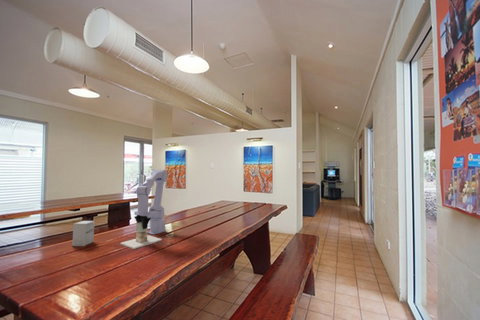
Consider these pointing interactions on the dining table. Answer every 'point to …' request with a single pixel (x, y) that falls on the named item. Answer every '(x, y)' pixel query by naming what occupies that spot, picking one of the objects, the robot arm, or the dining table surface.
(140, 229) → the sage block
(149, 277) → the dining table surface
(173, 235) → the dining table surface
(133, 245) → the white flat slab
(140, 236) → the maple block
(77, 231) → the supplement box
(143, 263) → the dining table surface
